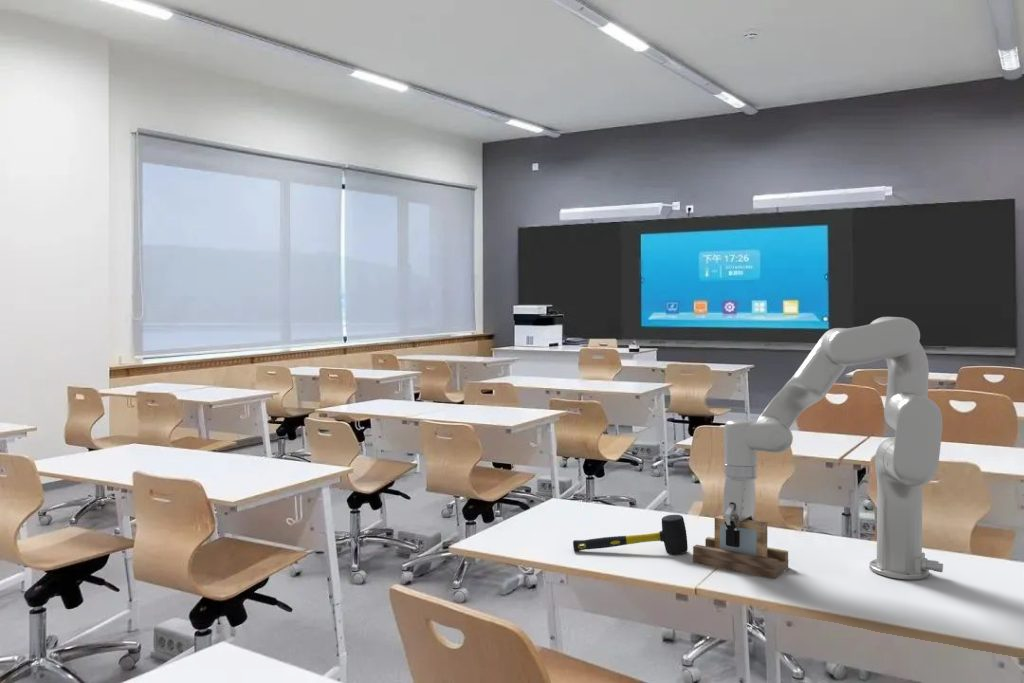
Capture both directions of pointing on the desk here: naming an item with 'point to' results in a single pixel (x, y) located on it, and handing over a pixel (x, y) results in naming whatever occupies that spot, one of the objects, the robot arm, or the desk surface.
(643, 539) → the mallet
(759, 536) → the wooden picture frame
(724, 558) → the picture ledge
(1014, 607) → the desk surface
